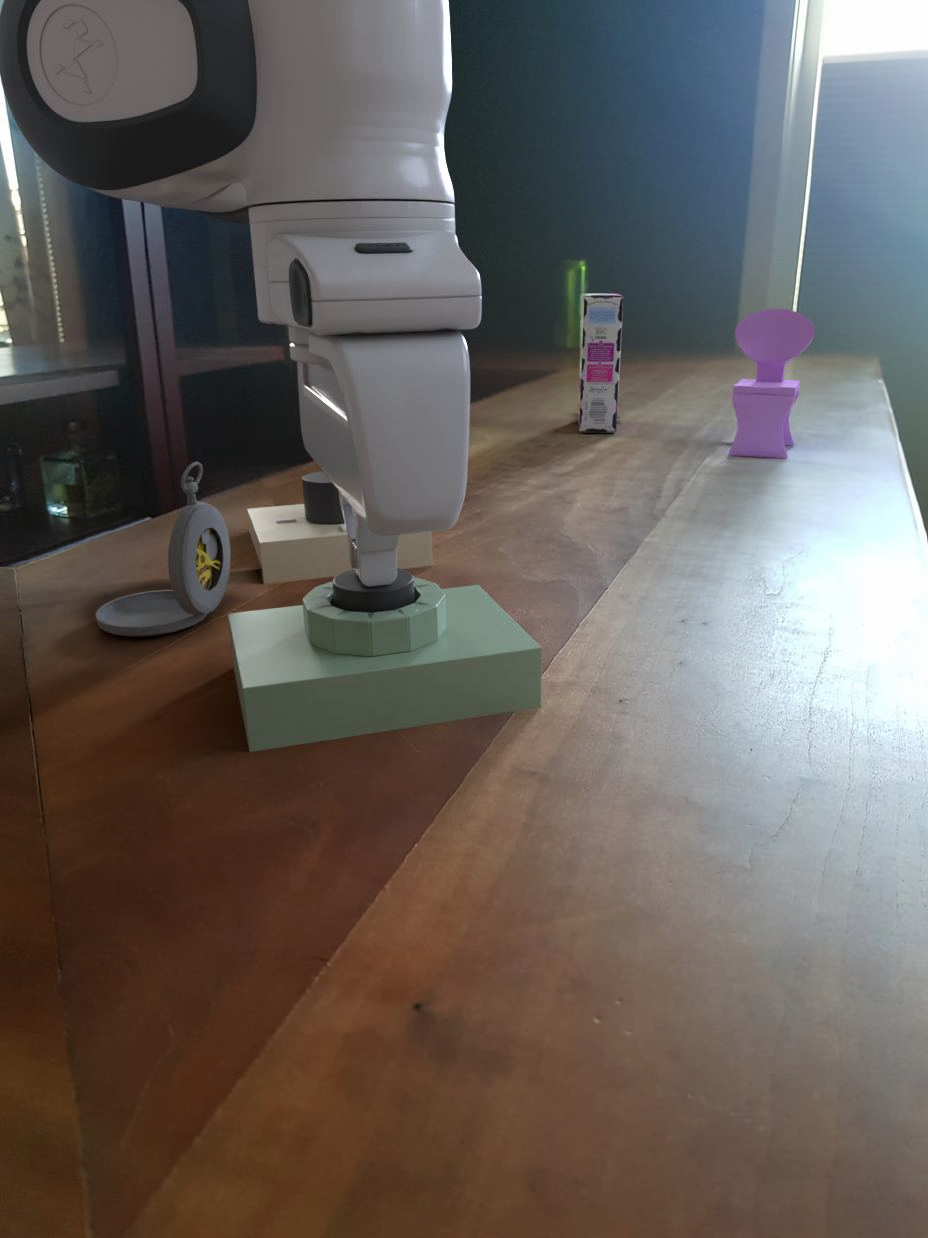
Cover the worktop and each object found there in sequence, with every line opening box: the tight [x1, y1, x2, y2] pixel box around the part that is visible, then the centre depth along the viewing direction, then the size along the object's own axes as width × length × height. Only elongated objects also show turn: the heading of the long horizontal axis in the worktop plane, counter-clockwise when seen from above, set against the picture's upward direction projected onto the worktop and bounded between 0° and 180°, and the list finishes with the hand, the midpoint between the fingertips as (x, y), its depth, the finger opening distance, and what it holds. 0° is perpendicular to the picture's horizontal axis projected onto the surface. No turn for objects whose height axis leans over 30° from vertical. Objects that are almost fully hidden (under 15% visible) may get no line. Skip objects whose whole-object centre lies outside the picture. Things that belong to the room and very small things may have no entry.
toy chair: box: [727, 308, 816, 459], centre depth 103 cm, size 8×9×15 cm
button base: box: [227, 576, 543, 753], centre depth 48 cm, size 14×10×5 cm
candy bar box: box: [577, 292, 624, 434], centre depth 120 cm, size 11×5×16 cm, turn 174°
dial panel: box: [246, 503, 433, 585], centre depth 70 cm, size 12×10×3 cm
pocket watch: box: [95, 461, 231, 638], centre depth 56 cm, size 8×8×10 cm
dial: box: [301, 470, 345, 524], centre depth 69 cm, size 4×4×3 cm
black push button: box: [332, 568, 415, 613], centre depth 47 cm, size 4×4×2 cm
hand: (373, 577), depth 47 cm, fingers closed, pressing on black push button
